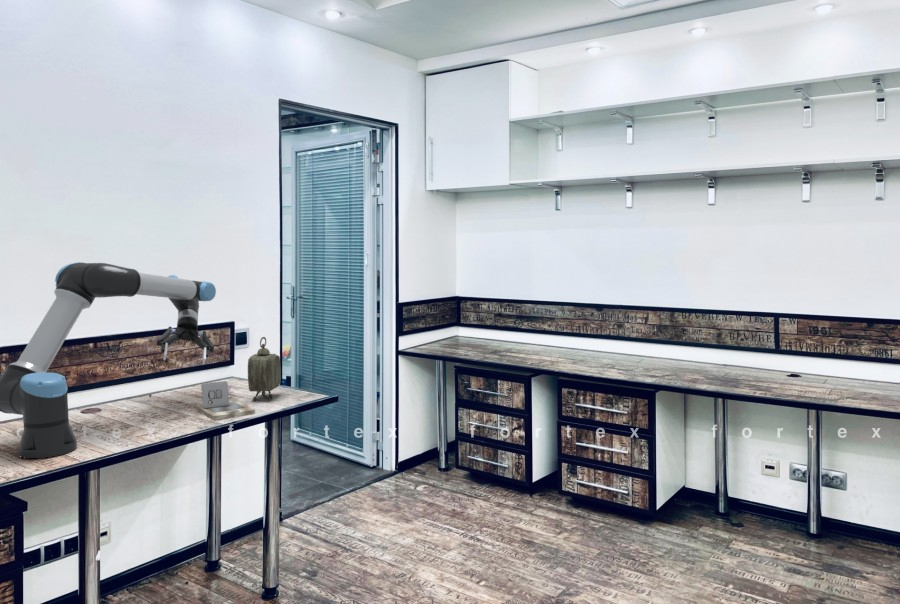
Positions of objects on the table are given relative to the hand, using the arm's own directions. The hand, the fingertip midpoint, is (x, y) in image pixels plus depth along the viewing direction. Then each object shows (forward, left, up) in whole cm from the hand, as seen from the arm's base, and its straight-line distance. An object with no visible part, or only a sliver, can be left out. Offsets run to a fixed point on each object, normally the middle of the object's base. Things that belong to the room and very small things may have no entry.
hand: (184, 359), depth 240 cm
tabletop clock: (+32, +3, -20) cm, 38 cm away
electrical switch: (+9, -4, -18) cm, 21 cm away
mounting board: (+12, -7, -20) cm, 24 cm away
